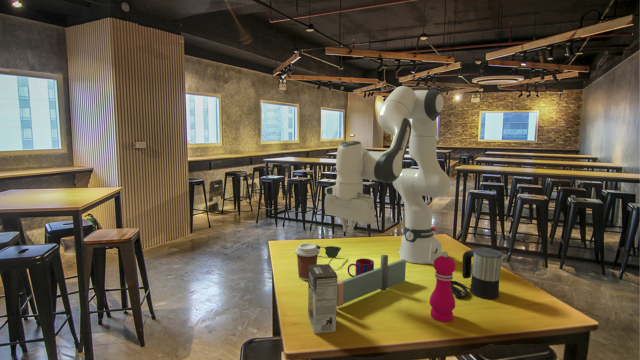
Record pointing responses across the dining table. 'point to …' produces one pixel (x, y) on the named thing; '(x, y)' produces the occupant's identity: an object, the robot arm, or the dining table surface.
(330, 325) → the coffee box
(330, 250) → the sunglasses
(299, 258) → the coffee cup
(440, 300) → the pepper mill
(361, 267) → the mug
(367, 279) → the grey-green hurdle bar
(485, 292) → the milk frother
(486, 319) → the dining table surface
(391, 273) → the fence
